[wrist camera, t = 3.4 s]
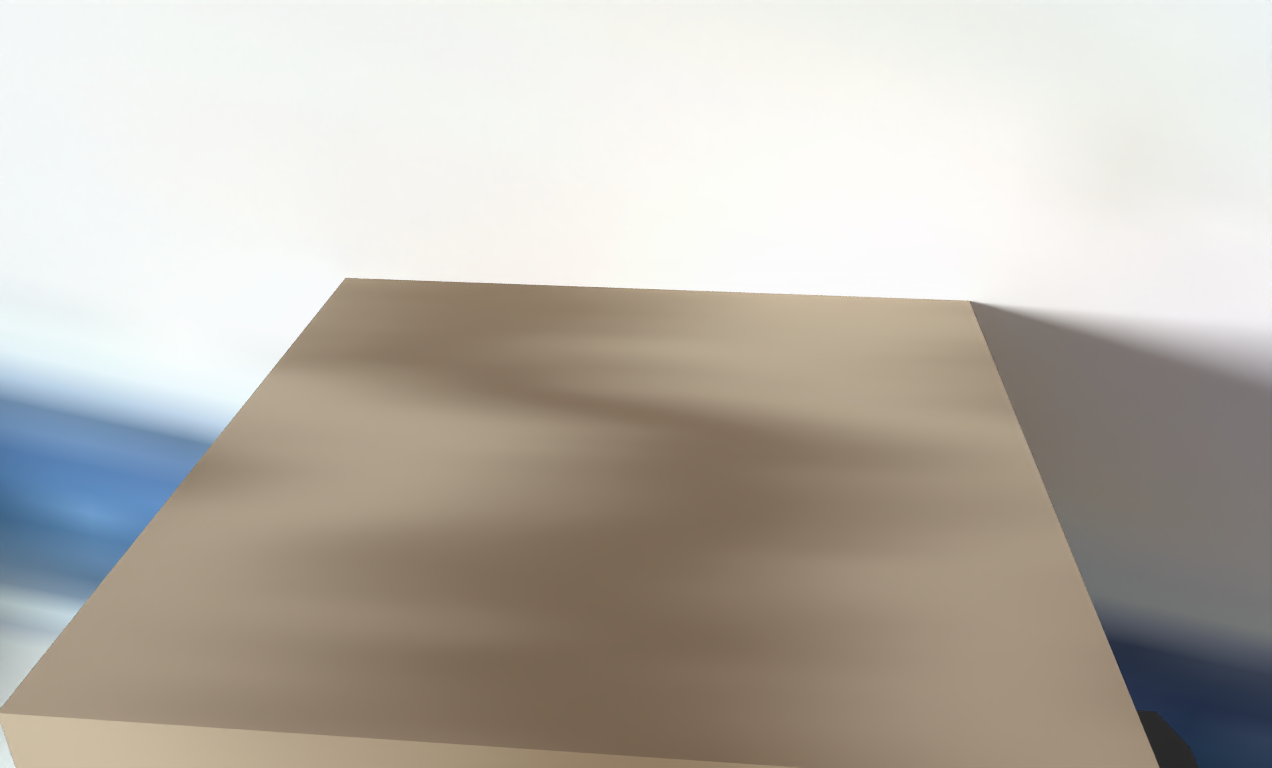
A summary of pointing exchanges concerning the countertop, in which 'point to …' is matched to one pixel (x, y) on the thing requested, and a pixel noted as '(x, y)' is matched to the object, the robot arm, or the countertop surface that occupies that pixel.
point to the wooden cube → (599, 553)
